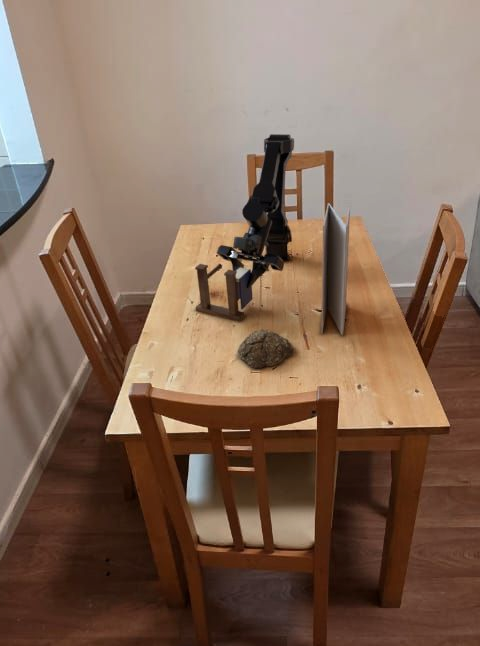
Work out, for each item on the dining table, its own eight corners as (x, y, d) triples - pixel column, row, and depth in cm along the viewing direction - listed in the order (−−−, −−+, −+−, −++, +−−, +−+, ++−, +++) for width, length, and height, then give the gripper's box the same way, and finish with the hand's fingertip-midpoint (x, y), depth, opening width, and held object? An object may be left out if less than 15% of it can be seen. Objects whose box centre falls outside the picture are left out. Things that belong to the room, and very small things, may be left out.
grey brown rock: (259, 333, 145) (258, 317, 143) (298, 349, 138) (298, 332, 136) (227, 357, 137) (225, 340, 134) (267, 375, 130) (266, 358, 127)
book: (240, 296, 158) (238, 266, 153) (252, 299, 157) (250, 269, 152) (230, 306, 154) (227, 276, 149) (242, 309, 152) (240, 279, 147)
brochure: (342, 335, 142) (347, 226, 127) (321, 333, 143) (322, 225, 128) (345, 306, 154) (350, 203, 139) (325, 305, 155) (327, 203, 140)
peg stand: (216, 292, 165) (212, 250, 158) (258, 301, 159) (255, 258, 152) (196, 310, 157) (190, 267, 150) (239, 321, 151) (235, 276, 144)
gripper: (216, 218, 152) (199, 271, 150) (278, 228, 144) (260, 284, 142) (233, 233, 162) (216, 283, 160) (291, 243, 154) (275, 296, 152)
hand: (241, 286), depth 153 cm, fingers closed on book, 4 cm apart
